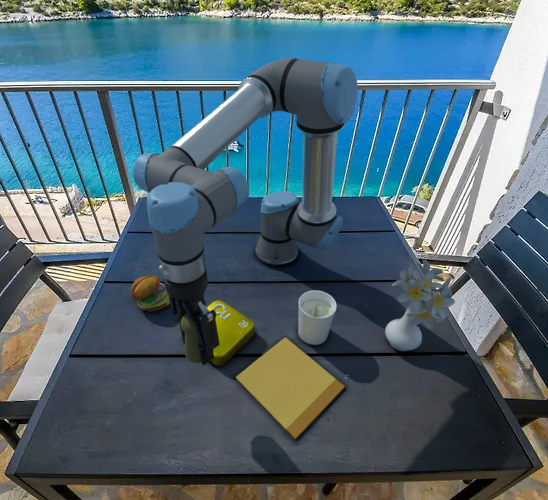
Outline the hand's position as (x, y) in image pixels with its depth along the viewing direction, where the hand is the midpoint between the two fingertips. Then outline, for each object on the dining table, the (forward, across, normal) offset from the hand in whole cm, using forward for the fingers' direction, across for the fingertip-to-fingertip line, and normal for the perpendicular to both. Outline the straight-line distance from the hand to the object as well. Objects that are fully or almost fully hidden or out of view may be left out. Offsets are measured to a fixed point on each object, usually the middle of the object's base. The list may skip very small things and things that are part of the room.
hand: (198, 350), depth 75 cm
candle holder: (+16, +6, +32) cm, 37 cm away
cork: (0, 0, 0) cm, 1 cm away
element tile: (+16, -10, +12) cm, 23 cm away
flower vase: (+16, +25, +48) cm, 56 cm away
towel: (+16, +12, +16) cm, 26 cm away
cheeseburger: (+16, -34, +5) cm, 38 cm away
